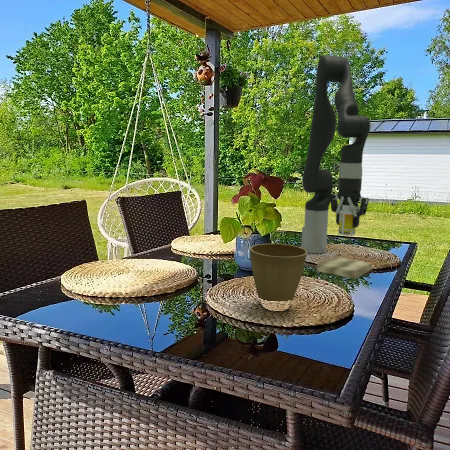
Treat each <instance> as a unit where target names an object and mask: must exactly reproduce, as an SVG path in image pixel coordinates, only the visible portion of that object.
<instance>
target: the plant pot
mask: <svg viewBox="0 0 450 450" xmlns="http://www.w3.org/2000/svg"><path fill="white" fill-rule="evenodd" d="M249 254H250V262H251V270H252V276H253V281H254V285H255V290H256V293H257V296H258V299H259V298H261V299H263V300H267V301H288V300H292V299H293V300H294V298H295V295H296V293H297V290H298V288H299V285H300V282H301V280H302V275H303V273H304V268H305V263H306V259H307V254H308V252H307V251H306V250H305V249H303V248H301V247H300V246H296V245H292V244H286V243H285V244H284V243H283V244H282V243H260V244H255V245H252V246H250V247H249ZM293 300H292V301H293Z"/></svg>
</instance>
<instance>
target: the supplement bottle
mask: <svg viewBox="0 0 450 450" xmlns="http://www.w3.org/2000/svg"><path fill="white" fill-rule="evenodd" d="M342 209H343V210H341V211H340V214H339V225H338V234H339V235H341V236H346V237H347V236H349V237H350V236H355V234H356V228H353V217H354V215H353V211H352V210H351V208H350V206H348V205H342Z"/></svg>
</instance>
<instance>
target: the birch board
mask: <svg viewBox="0 0 450 450" xmlns="http://www.w3.org/2000/svg"><path fill="white" fill-rule="evenodd" d="M372 265H373V264H372V262H368V261H361V260H358V259H357V260H356V259H351V258H345V257H340V256H339V257H338V256H332V257H330V258H328V259H325V260H323V261H320V262H318V263H317V264H316V272H320V273H325V274H330V275H335V276H341V277H343V278H344V277H345V278H349V279H353V280H354V279H355V280H357V279H358V278H360V277H362V276H363V275H365V274H366V273H368V272H370V271H372Z"/></svg>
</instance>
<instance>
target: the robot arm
mask: <svg viewBox="0 0 450 450" xmlns="http://www.w3.org/2000/svg"><path fill="white" fill-rule="evenodd" d="M350 65H351V64H350V62H349V60H348V58H347V57H344V56H341V55H340V56H337V55H328V54H327V55H326V54H324V55H323V54H322V55H321V56H320V57H319V59H318V62H317V68H316V78H315V79H316V80H315V92H314V93H315V96H314V106H313V111H312V119H311V124H310V134H309V142H308V149H307V154H306V160H305V163H304V167H303V173H302V178H301V181H302V182H301V183H302V184H301V185H302V188H303V190H304V191H305V192H306V193H309V194H314V195H313V197H311V198H310V199H308V200H307V201H305V203H304V204H305V205H304V209H305V210H304V224H303V226H302V228H301V241H300V243H301V244H300V245H301V248H303V249H305V250H306V251H307V254H308V253H309V254H317V253H318V254H325V253H326V252H327V241H328V222H329V206H330V209H331V212H333V213H335V223H336V225H337V226H339V214H340V211H341V210H343V209H342V205H348V206H350V208H351V210H352V211H353V215H354V217H353V228H355V229H356V228H358V227H359V226H360V219H361V218H360V217H361V216H365V215H366V213H367V210H368V204H369V201H370V199H369V197H363V196H362V194H361V191H362V182H363V180H362V179H363V153H364V149H365V145H366V142H367V139H368V137H369V134H370V130H371V122H370V119H369V118H368V116H366V115H359V111H360V109H359V108H360V107H359V105H358V102H357V98H356V97H355V93H354V90H353V87H354V86H353V80H352V79H353V78H352V73H351V72H352V70H351V66H350ZM327 83H339V84H340V87H338V89H337V91H336V93H335V95H334V100H333V101H334V106H335V110H336V112H337V115H336V112H335V110H334V108H333V106H332V103H331V102H330V99H329V96H328V86H327V85H328V84H327ZM336 131H337V133H338V135H339V136H340V137H342V138H355V139H354V141H353V143H350V144H345V145H343V146H341V148H340V149H341V150H340V163H339V169H338V185H337V189H338V192H337V193H335V194H334V193H333V184H334V180H333V179H334V178H333V175H332V172H331V171H330V170H328V169H326V168H325V169H324V168H321V167H320V166H321V163H322V158H323V156H324V155H325V153H326V151H327V150H328V148H329V146H330V145H331V144H332V142H333V140H334V138H335V135H336ZM338 201H339V202H338ZM359 203H360V205H359Z"/></svg>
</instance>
